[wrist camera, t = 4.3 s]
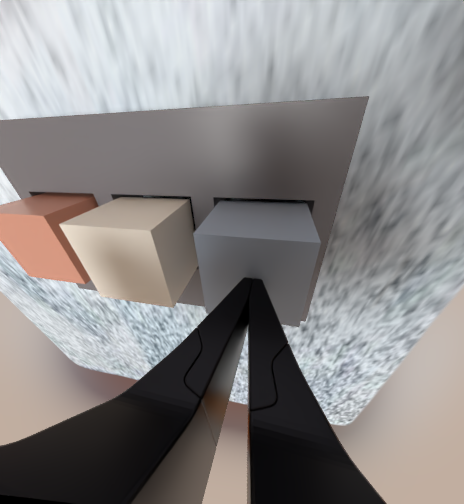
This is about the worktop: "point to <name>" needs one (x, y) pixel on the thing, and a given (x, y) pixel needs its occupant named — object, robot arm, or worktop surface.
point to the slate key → (259, 253)
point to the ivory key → (136, 248)
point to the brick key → (45, 234)
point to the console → (193, 158)
